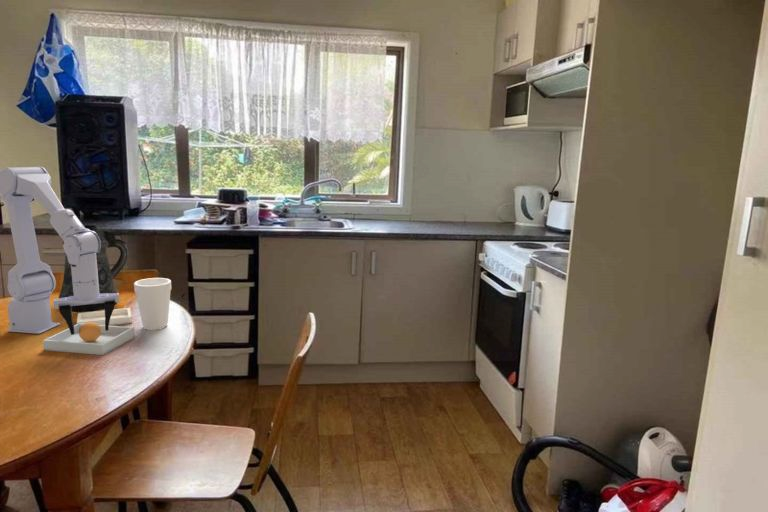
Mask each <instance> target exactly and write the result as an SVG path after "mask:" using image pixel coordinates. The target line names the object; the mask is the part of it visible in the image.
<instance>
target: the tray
mask: <svg viewBox="0 0 768 512" xmlns="http://www.w3.org/2000/svg"><path fill="white" fill-rule="evenodd" d="M82 325H83V324H81V323H78V324H77V323H76V324H74V331H75V332H74V335H71V332H70V329H69V327H68V328H66V329H64V330H62V331H60V332H58V333H56V334H53V335H52V336H49V337H47V338H45V339H43V340H42V345H43V351H47V352H60V353H70V354H71V353H73V354H84V355H85V354H87V355H98V356H105V355H107V354H108V353H110V352H112V351H114V350H115V349H117V348H118V347H120V346H122V345H123V344H125V343H126V342H128V341H130V340H132V339H134V338H135V327H134V326H122V325H113V326H109V327H108V330H107V331H105V325H99V326H100V328H101V334H100V336H99V338H98V339H96V340H94V341H91V342H87V341H84V340H82V339H81V338H80V336H79V329H80V327H81V326H82Z"/></svg>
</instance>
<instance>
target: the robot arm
mask: <svg viewBox="0 0 768 512" xmlns="http://www.w3.org/2000/svg"><path fill="white" fill-rule="evenodd" d="M0 198H1V199H2V200H3V201H5V204H6V210H7V215H8V220H9V226H10V232H11V236H12V240H13V241H12V242H13V247H14V252H15V253H14V254H15V256H16V262H17V263H16V264H15V265H14V266H13V267H12V268H11V269H10V270H9V271H8V272H7V291H8V293H9V295H10V296H11V297H12V298H11V300H10V301H9V303H8V304H7V305H8V306H7V313H8V321H9V323H8V324H9V328H8V329H7V332H12V333H25V334H36V335H37V334H39V335H40V334H42V333H45V332H46V331H49V330H51V329H53V328H56V327H57V326H60V325H61V323H60V322H53V320H52V319H53V318H52V310H51V302H50V296H52V295H53V294H52V293H53V292H54V291H55V289H56V286H57V281H56V278H55V276H54V274H53V272H52V268H51V267H52V266H50V265H49V264H47V263H45V262H43V261H42V260H41V256H40V252H39V251H40V250H39V247H38V241H37V236H36V235H37V234H36V231H35V224H34V219H33V213H32V209H31V203H32V201H33V200H34V199H35V200H36V201H37V202H38V203H39V204H40V206H42V208H43V209H44V210H45V211H46V213H48V214H49V215H50V218H49V223H50V225H51V226H52V227H53V229H54V230H55V232H56V233H57V234H58V235H59V237H60V238H61V240H62V242H63V241H64V245H63V244H62V248H63V251H64V253H65V256H66V255H67V258H68V261H69V264H71V272H72V283H73V293H74V296H71V297H65V298H59V297H58V298H54V299H53V301H52V302H53V303H52V304H53V309H58V310H59V311H58V312H59V314H60V315H61V317H62V318H63V319H64V322H65V323H66V325H67V327H68V328H69V329H70V332H71V335H74V332H75V331H74V325H75V324H74V320H73V318H74V317H73V312H72V306H76V305H87V304H97V303H104V309H103V311H104V310H105V331H107V330H108V327H109V321H110V317H111V314H112V312H113V310H114V309H115V306H116V305H115V302H117V303H120V293H119V292H118V293H109V294H99V282H98V270H97V258H96V253H98V252H99V251H100V248H101V242H100V239H99V237H98V235H97V233H96V232H94V231H90V230H89V229H88V228H87V229H86V228H85V227H84V226H85V225H84V224H83V223H82V222H81V220H80V219H79V218H78V216H77V215H76V214H75V213H74V211H72V210H71V209H69V208H68V209H65V207H64V206H63V204H62V202H61V201H60V199H59V197H58V196H57V194H56V193H55V191H54V190H53V188H52V177H51V175H50V174H49V172H48V171H47V169H46V168H45V167H44V166H41V165H40V166H24V167H23V166H22V167H21V166H20V167H18V166H17V167H9V166H5V167H3V168H2V169H0Z"/></svg>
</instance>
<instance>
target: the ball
mask: <svg viewBox="0 0 768 512" xmlns="http://www.w3.org/2000/svg"><path fill="white" fill-rule="evenodd" d="M100 334H101V328H100V326H99V325H98V324H96V323H94V322H87V323H85V324H83V325H82V326H81V327H80V329H79V336H80V338H81V339H82V340H84V341H87V342H91V341H94V340H96V339H98V338H99V336H100Z"/></svg>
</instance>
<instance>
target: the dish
mask: <svg viewBox="0 0 768 512" xmlns="http://www.w3.org/2000/svg"><path fill="white" fill-rule="evenodd" d="M131 311H132V310H131V307H123V308H117V309H116V308H114V310H113V312H112V314H111V317H110V321H109V326H122V325H128V324H129V323H130V324H133V319H132V312H131ZM87 322H94V323H96V324H98V325H105V310H104V309H103V310H98V311H92V312H77V319H76V324H78V323H81V324H85V323H87Z"/></svg>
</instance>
